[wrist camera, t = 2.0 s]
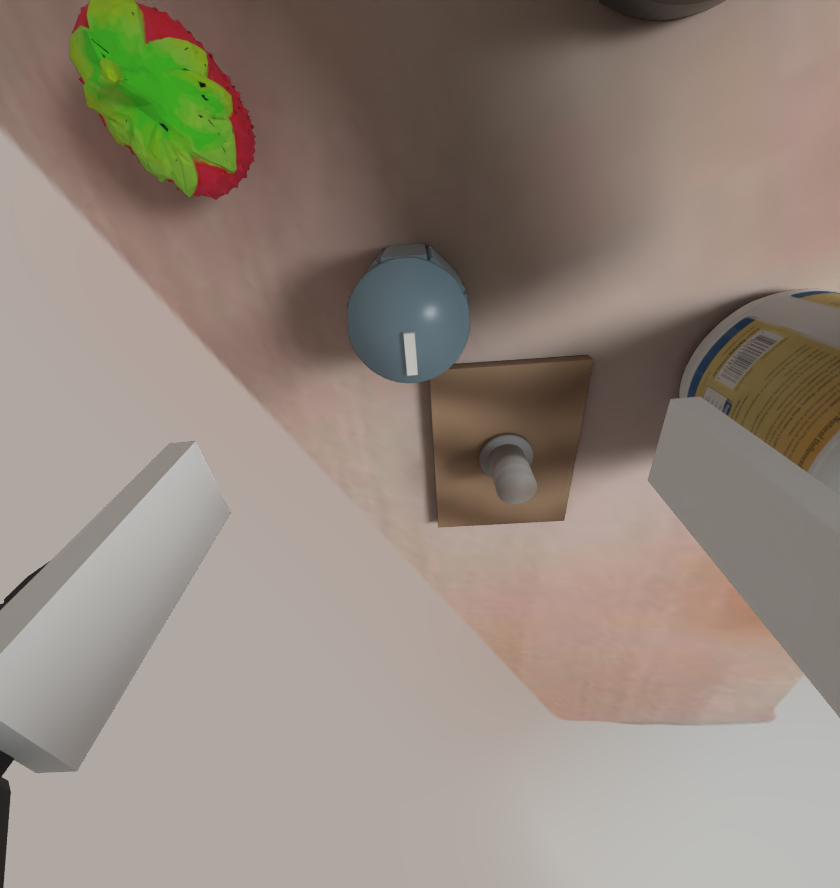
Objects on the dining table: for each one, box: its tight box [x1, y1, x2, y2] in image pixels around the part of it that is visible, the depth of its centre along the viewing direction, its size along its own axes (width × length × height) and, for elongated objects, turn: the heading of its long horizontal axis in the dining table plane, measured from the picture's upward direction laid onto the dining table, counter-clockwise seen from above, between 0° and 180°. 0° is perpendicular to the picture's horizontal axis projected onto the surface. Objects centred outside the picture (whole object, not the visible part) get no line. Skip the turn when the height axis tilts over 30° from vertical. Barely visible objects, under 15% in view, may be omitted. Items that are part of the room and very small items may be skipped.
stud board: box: [430, 355, 593, 527], centre depth 31 cm, size 16×12×6 cm
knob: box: [347, 243, 470, 383], centre depth 24 cm, size 7×7×7 cm
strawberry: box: [70, 0, 256, 200], centre depth 17 cm, size 6×7×10 cm
